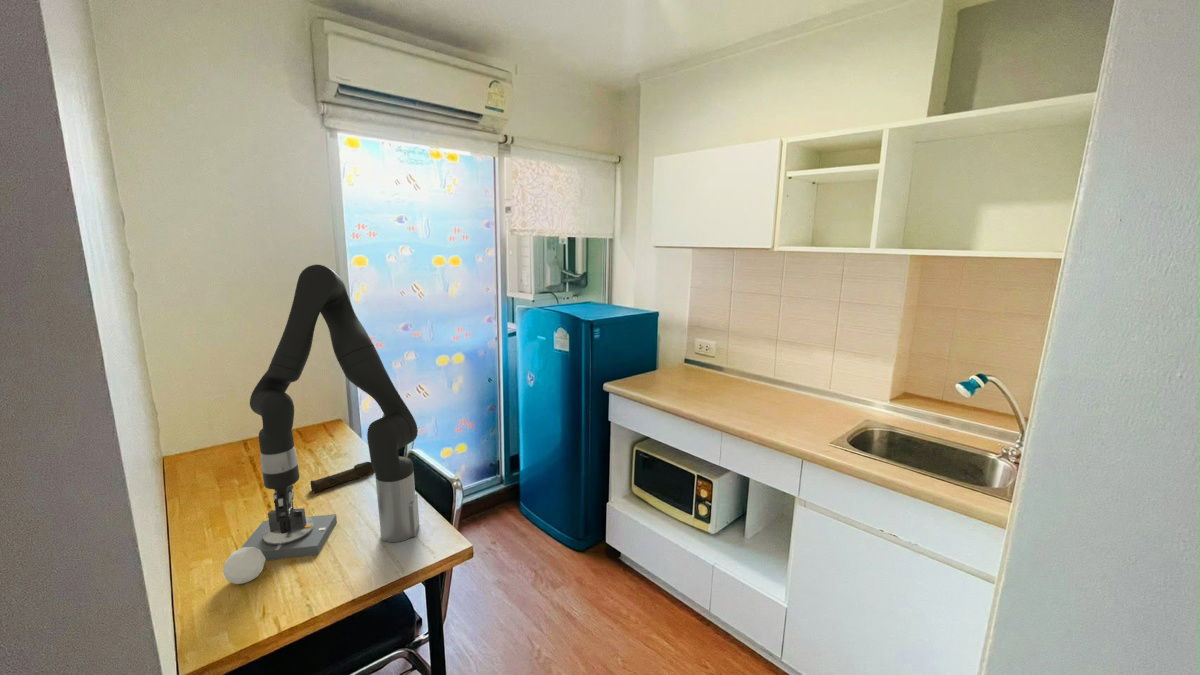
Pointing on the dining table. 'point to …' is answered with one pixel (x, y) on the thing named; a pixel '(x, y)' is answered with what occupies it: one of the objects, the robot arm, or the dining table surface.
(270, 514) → the dial knob
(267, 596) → the dining table surface
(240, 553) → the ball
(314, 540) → the dial panel
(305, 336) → the robot arm
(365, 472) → the hand tool
